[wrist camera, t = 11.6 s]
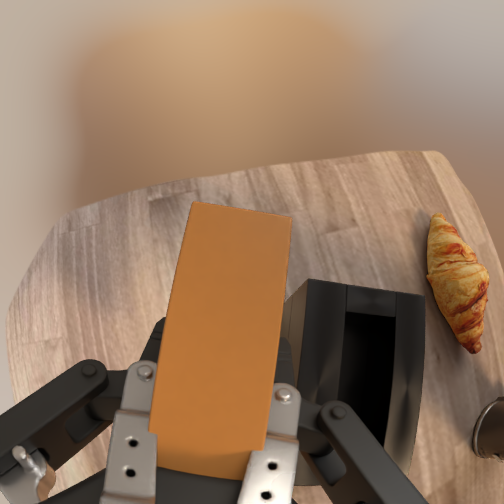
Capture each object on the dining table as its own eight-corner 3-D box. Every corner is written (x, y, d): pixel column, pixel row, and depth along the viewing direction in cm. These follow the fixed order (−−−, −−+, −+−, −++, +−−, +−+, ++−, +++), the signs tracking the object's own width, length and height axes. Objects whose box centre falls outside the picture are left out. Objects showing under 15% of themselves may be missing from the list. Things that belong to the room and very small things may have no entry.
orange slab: (255, 295, 18) (293, 216, 9) (231, 458, 15) (246, 547, 5) (205, 286, 18) (192, 199, 9) (179, 450, 15) (138, 530, 5)
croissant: (404, 230, 44) (409, 209, 37) (457, 213, 41) (469, 190, 34) (441, 363, 36) (454, 367, 29) (496, 340, 33) (518, 338, 26)
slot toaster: (367, 319, 35) (425, 295, 24) (352, 449, 29) (408, 475, 18) (271, 307, 34) (297, 276, 23) (252, 446, 28) (270, 485, 17)
